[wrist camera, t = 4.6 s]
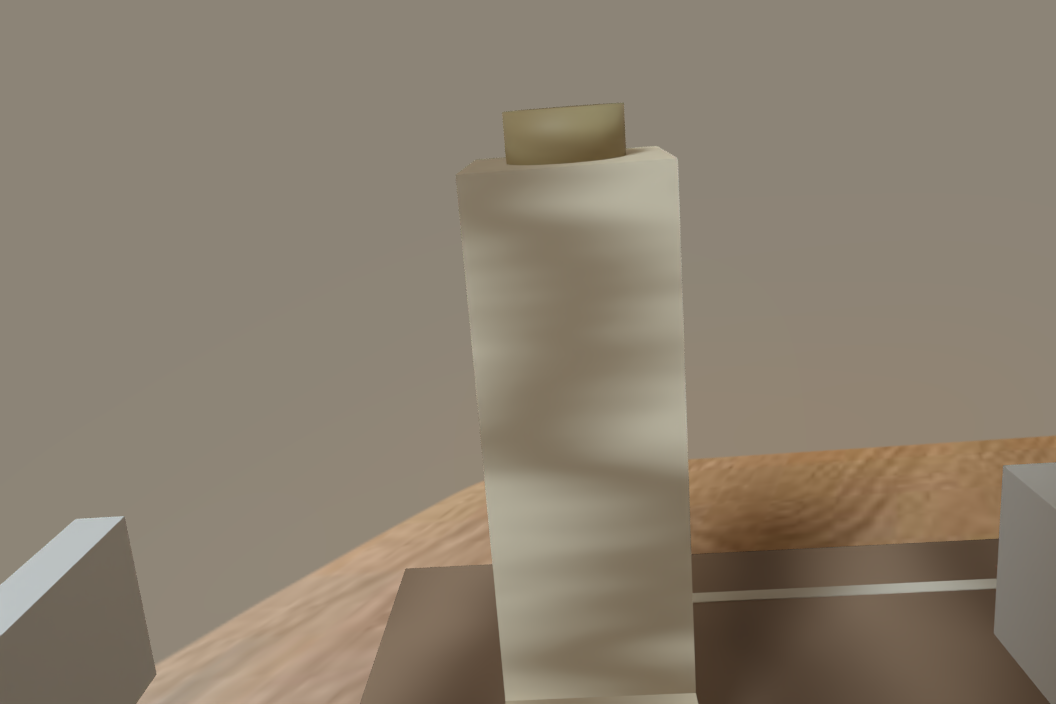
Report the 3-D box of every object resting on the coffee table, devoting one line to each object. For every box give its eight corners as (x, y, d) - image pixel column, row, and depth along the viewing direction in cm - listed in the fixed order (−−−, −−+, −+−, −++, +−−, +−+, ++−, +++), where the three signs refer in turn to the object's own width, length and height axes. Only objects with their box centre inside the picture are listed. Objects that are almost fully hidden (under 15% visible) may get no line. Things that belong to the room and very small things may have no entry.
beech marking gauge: (667, 613, 27) (645, 98, 23) (716, 865, 18) (694, 101, 14) (525, 620, 27) (481, 111, 23) (506, 872, 18) (431, 122, 15)
